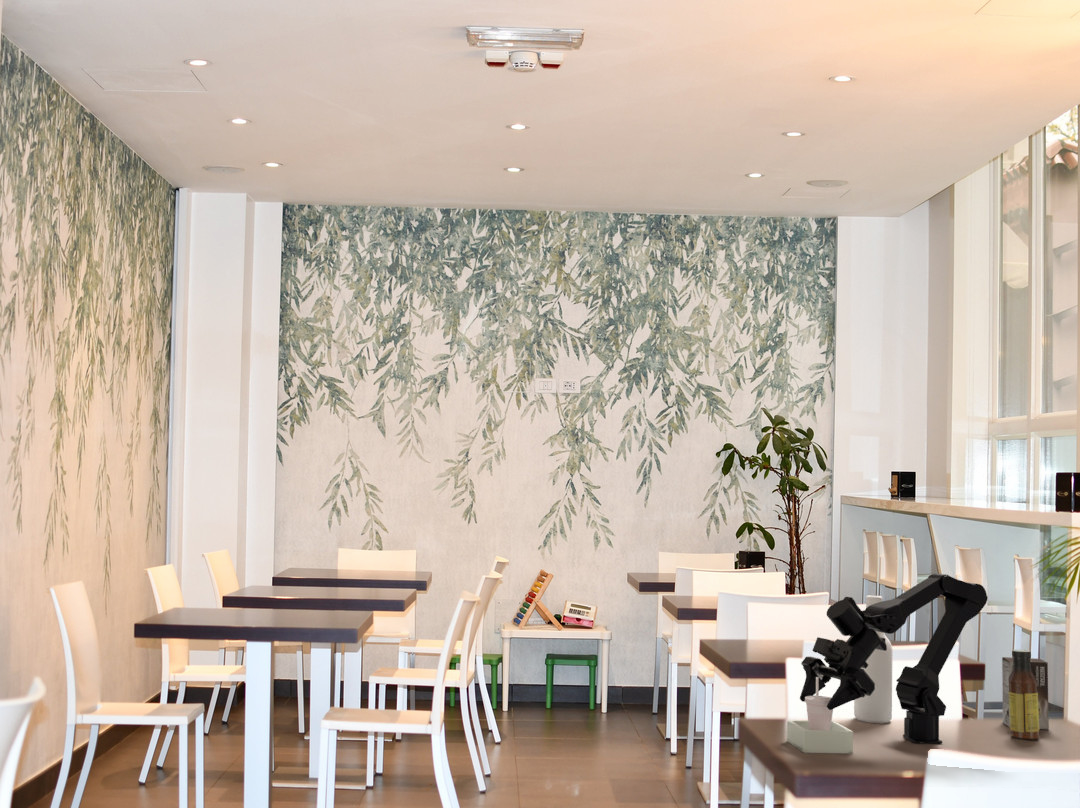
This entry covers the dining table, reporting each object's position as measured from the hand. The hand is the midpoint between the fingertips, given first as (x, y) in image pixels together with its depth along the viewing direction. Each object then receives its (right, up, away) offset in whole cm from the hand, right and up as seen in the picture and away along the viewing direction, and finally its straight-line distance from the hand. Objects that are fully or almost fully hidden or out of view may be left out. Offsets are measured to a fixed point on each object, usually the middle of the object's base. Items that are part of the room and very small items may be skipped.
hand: (814, 704), depth 230 cm
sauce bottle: (+53, -13, +18) cm, 58 cm away
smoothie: (+1, -9, 0) cm, 9 cm away
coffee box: (+60, -15, +32) cm, 69 cm away
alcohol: (+22, -13, +32) cm, 41 cm away
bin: (+1, -9, 0) cm, 9 cm away
